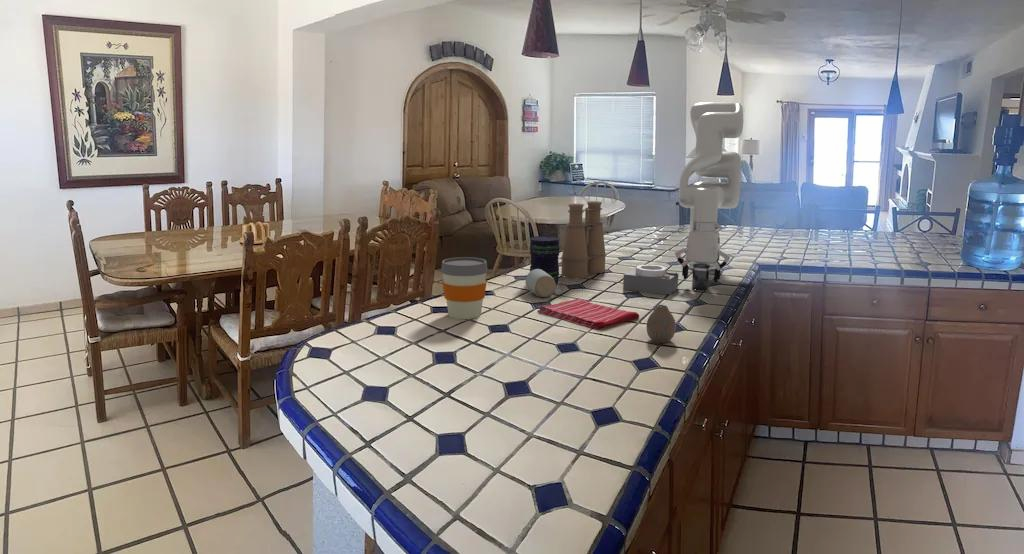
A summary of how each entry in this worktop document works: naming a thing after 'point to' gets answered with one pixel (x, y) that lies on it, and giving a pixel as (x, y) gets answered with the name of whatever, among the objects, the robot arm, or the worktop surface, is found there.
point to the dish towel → (588, 313)
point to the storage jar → (545, 255)
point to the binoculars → (584, 242)
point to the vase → (661, 325)
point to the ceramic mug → (541, 283)
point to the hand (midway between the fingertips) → (700, 279)
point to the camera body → (651, 279)
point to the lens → (700, 276)
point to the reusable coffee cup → (464, 286)
